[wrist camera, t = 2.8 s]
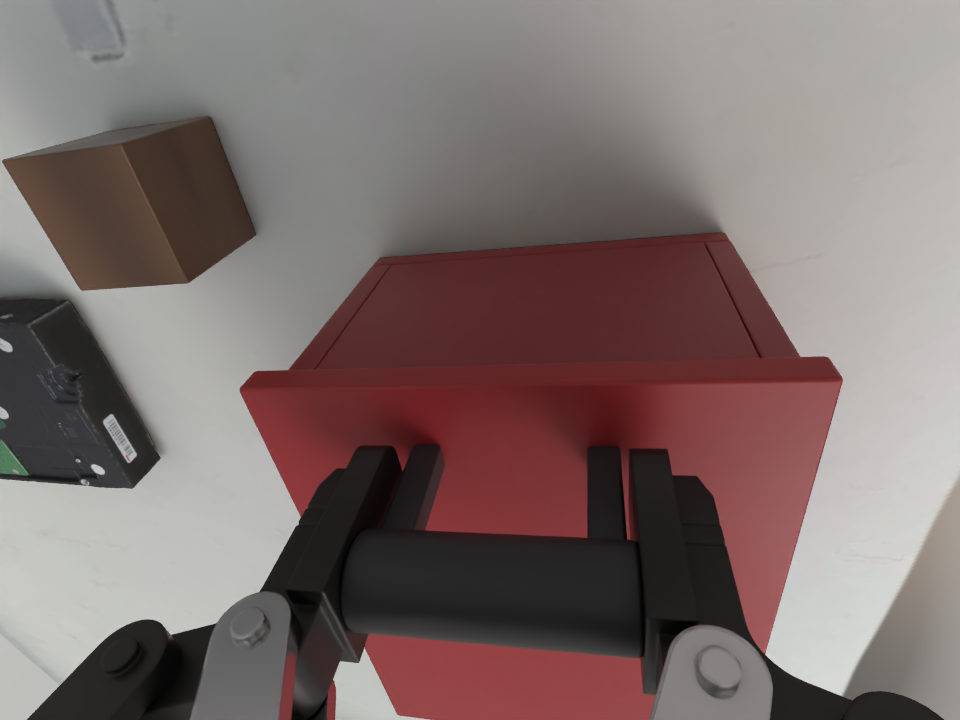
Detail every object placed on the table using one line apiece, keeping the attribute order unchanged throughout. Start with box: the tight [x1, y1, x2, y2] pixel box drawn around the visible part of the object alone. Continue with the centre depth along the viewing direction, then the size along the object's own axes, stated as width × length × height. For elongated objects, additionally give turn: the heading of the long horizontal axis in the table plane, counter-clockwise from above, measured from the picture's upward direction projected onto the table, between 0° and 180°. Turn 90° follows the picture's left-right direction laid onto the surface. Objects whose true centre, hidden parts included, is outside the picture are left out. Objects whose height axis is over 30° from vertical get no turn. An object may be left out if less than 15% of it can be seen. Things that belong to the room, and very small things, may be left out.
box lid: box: [240, 357, 843, 720], centre depth 14 cm, size 16×13×5 cm
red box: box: [289, 233, 800, 370], centre depth 20 cm, size 16×13×9 cm
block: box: [2, 116, 256, 291], centre depth 18 cm, size 4×4×4 cm
